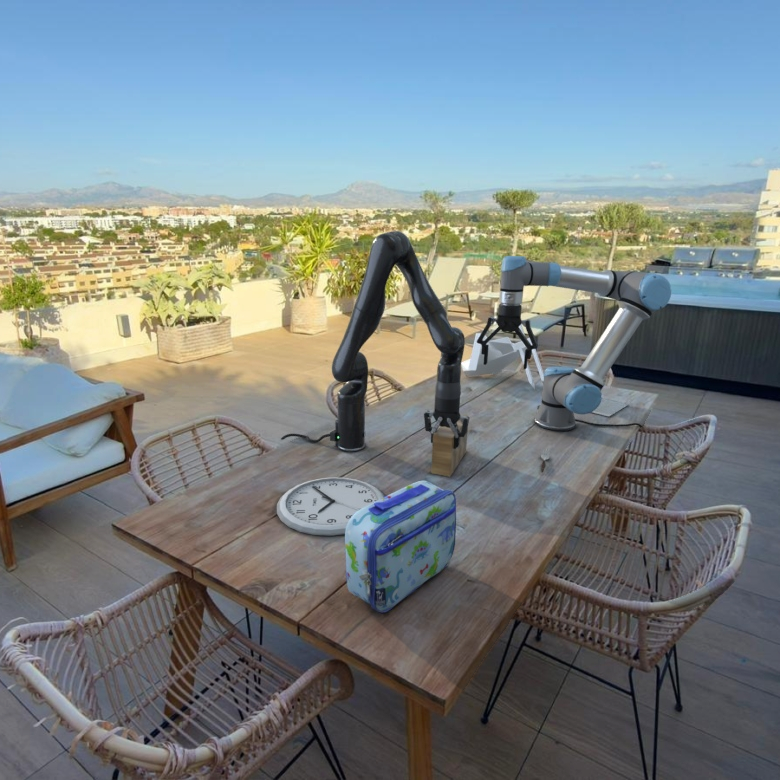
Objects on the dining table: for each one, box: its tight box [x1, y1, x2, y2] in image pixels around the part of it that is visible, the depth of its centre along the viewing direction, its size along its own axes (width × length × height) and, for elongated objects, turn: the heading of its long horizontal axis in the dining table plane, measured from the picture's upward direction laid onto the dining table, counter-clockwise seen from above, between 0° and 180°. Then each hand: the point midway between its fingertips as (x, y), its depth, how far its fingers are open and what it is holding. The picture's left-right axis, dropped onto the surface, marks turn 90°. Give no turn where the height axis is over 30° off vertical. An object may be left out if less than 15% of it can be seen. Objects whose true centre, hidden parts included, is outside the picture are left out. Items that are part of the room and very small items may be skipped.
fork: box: [540, 448, 551, 473], centre depth 170 cm, size 3×16×2 cm, turn 160°
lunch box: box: [344, 480, 457, 614], centre depth 109 cm, size 26×11×21 cm, turn 135°
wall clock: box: [276, 476, 386, 537], centre depth 142 cm, size 30×2×30 cm
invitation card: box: [591, 398, 629, 418], centre depth 226 cm, size 21×1×15 cm
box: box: [430, 415, 469, 478], centre depth 168 cm, size 20×6×13 cm, turn 158°
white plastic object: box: [461, 324, 545, 390], centre depth 260 cm, size 37×45×31 cm
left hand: (444, 446), depth 162 cm, fingers closed on box, 6 cm apart
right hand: (505, 366), depth 180 cm, fingers open, 13 cm apart
